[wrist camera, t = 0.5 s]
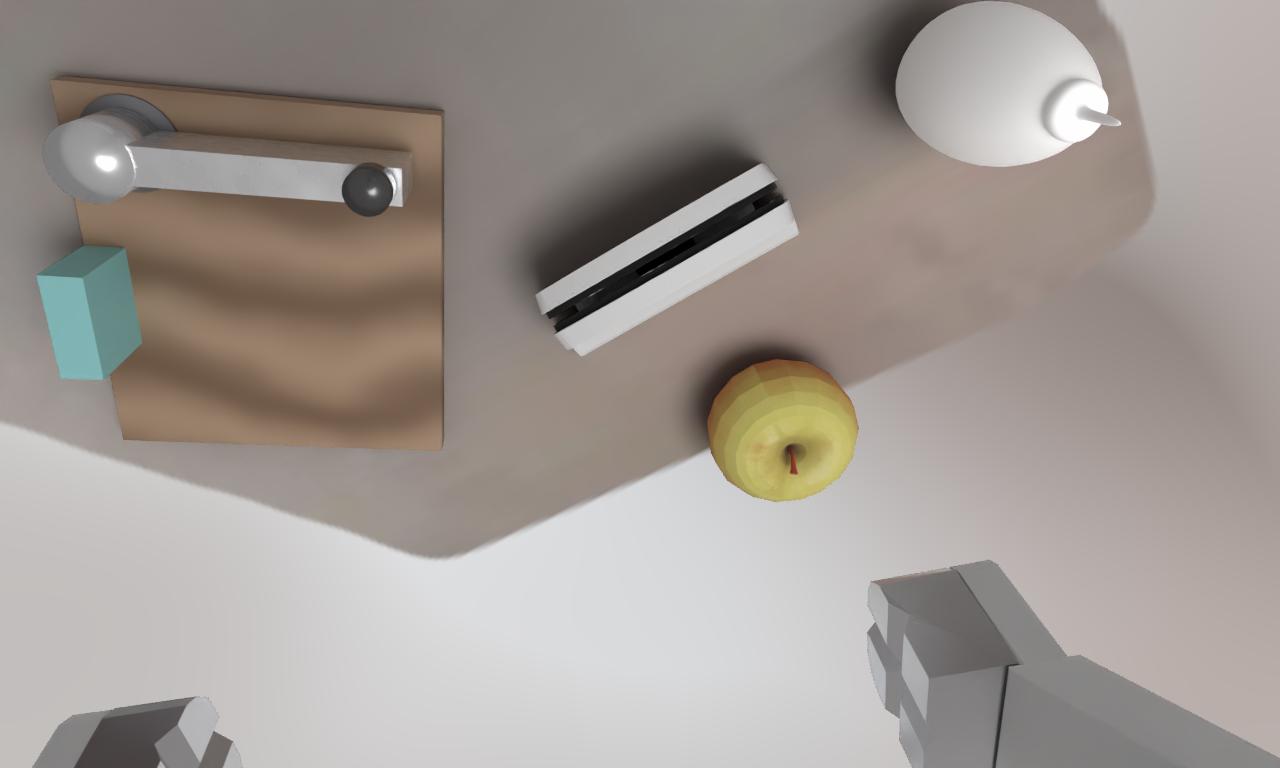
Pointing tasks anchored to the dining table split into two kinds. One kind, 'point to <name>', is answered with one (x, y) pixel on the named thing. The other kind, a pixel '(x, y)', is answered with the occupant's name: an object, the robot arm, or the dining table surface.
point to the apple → (782, 430)
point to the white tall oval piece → (999, 85)
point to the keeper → (90, 311)
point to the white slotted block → (669, 261)
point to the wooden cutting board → (277, 283)
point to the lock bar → (218, 164)
